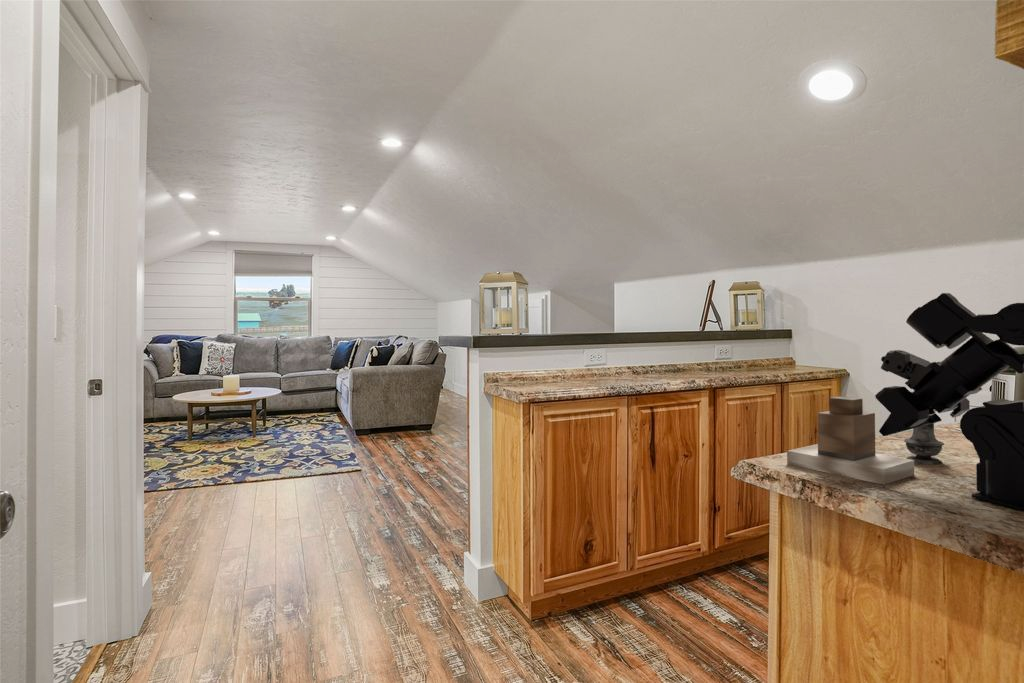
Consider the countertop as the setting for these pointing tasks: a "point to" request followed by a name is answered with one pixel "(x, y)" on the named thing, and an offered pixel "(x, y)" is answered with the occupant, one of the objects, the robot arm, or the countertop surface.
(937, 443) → the salt shaker
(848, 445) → the brown square jar
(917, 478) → the countertop surface
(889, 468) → the board
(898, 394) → the robot arm
